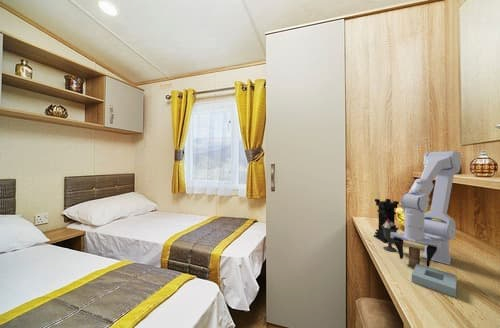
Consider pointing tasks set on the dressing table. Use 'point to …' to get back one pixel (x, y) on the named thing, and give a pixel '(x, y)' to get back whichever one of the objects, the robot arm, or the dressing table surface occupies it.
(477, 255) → the dressing table surface
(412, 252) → the peg
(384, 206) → the chess piece
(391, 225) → the sundae
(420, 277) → the socket block
